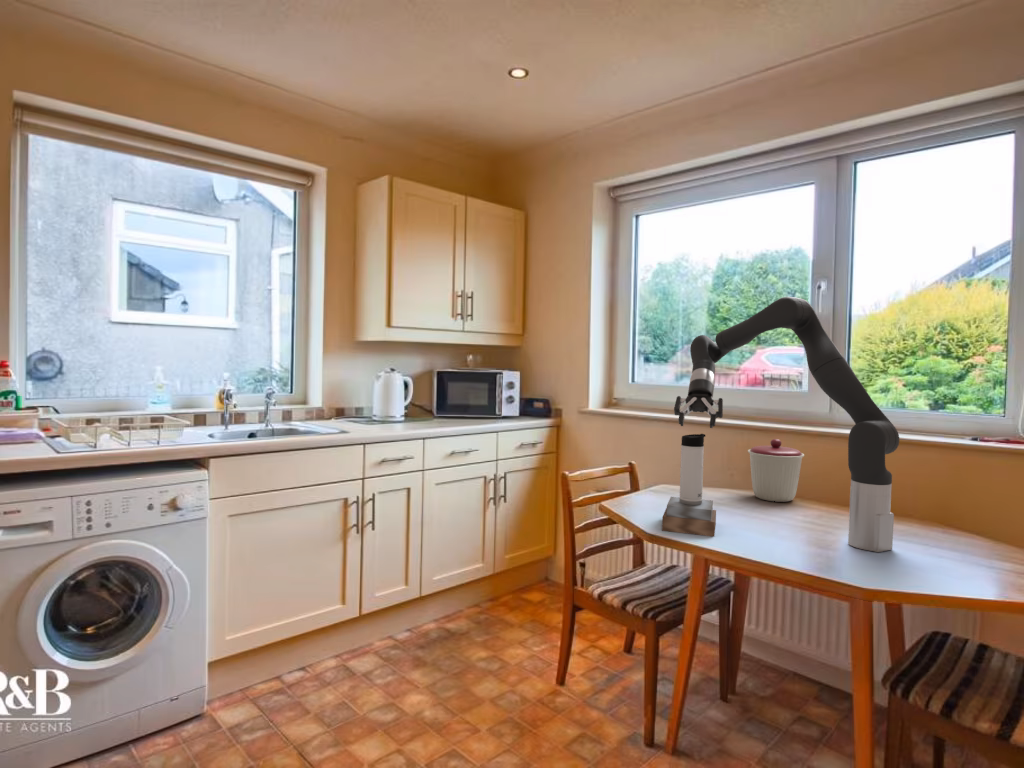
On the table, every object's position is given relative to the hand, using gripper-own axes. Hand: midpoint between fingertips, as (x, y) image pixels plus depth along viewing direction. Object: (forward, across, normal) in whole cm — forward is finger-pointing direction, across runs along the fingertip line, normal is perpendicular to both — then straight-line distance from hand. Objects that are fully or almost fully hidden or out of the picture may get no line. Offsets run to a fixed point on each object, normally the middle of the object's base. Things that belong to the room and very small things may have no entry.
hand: (696, 425), depth 183 cm
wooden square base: (+27, 0, +13) cm, 30 cm away
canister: (-8, +23, +49) cm, 54 cm away
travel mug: (+22, 0, +8) cm, 24 cm away
